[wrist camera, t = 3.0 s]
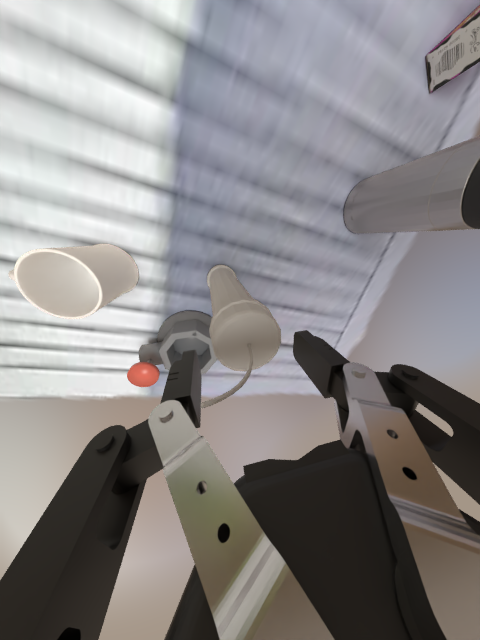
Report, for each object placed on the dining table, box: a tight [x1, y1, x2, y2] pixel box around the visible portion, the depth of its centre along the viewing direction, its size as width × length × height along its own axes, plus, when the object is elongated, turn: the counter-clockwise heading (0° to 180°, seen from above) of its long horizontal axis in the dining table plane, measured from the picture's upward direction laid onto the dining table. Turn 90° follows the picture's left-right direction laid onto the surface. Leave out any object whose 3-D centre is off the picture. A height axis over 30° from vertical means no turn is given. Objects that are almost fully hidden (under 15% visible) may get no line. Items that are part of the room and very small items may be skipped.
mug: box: [9, 244, 139, 319], centre depth 24 cm, size 12×8×12 cm
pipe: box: [201, 265, 281, 408], centre depth 20 cm, size 6×6×30 cm
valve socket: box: [127, 311, 218, 387], centre depth 34 cm, size 17×14×10 cm
